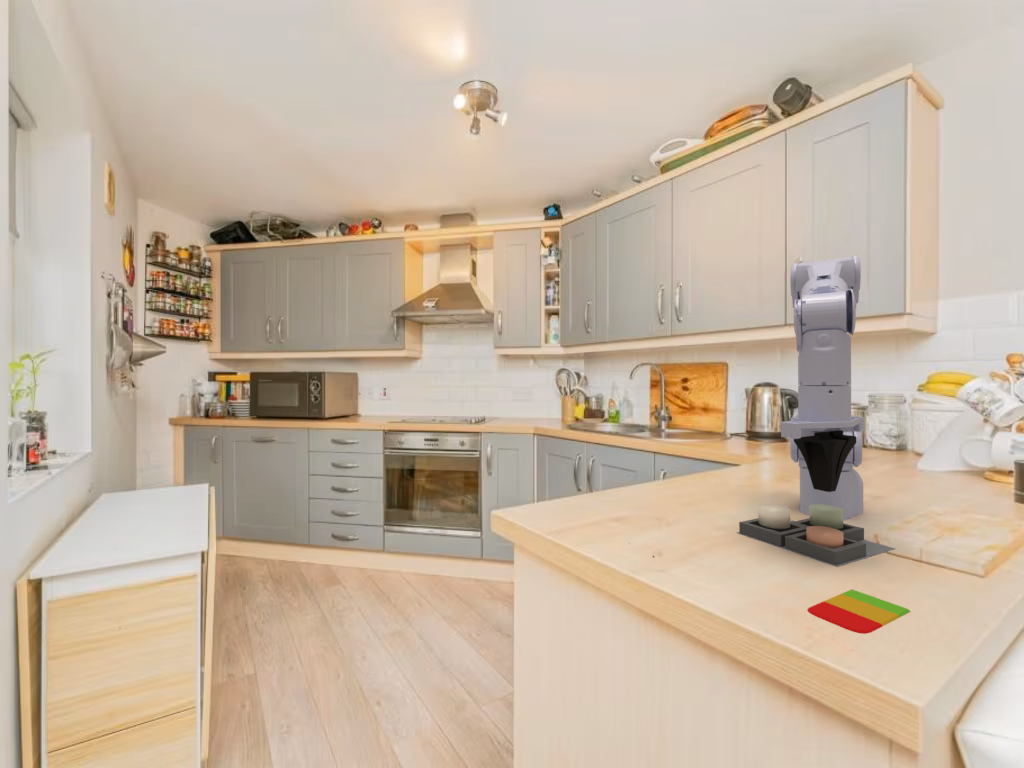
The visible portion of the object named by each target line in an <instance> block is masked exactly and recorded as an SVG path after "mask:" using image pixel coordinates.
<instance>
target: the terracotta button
mask: <svg viewBox="0 0 1024 768" xmlns="http://www.w3.org/2000/svg"><path fill="white" fill-rule="evenodd" d="M806 536H807V541H809V542H812V543H815V544H819V545H822V546H825V547H828V548H832V549H834V548H838V547H842V546H844V544H843V532H842V531H840V530H837V529H834V528H830V527H823V526H809V527H807V528H806Z"/></svg>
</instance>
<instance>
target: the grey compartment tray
mask: <svg viewBox="0 0 1024 768" xmlns="http://www.w3.org/2000/svg"><path fill="white" fill-rule="evenodd" d="M738 525H739V528H738V529H739V530H738V532H736V534H738V535H741V536H744V537H746V538H749V539H753V540H756V541H759V542H761V543H765V544H767V545H771V546H773V547H777V548H780V549H783V550H785V551H788V552H791V553H795V554H797V555H800V556H803V557H805V558H809V559H813V560H815V561H818V562H822V563H824V564H827V565H829V566H833V567H837V568H838V567H842V566H845V565H849V564H852V563H855V562H859V561H861V560H865V559H869V558H871V557H874V556H878V555H882V554H885V553H887V552H891V551H894V550H896V548H894V547H891V546H889V545H884V544H880V543H877V542H874V541H870V540H865V528H863V527H860V526H856V525H852V524H848V523H844V522H843V528H842V529H837V530H840V531H842V532H843V544H844V546H842V547H838V548H834V549H832V548H828V547H825V546H822V545H819V544H815V543H812V542H809V541H807V536H806V528H807V527H809V526H814V525H812V524H810V517H808V518H805V519H800V520H790V528H786V529H776V528H770V527H765V526H762V525H760V524H759V523H758V517H757V518H754V519H753V518H752V519H749V520H743V521H739V523H738Z"/></svg>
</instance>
